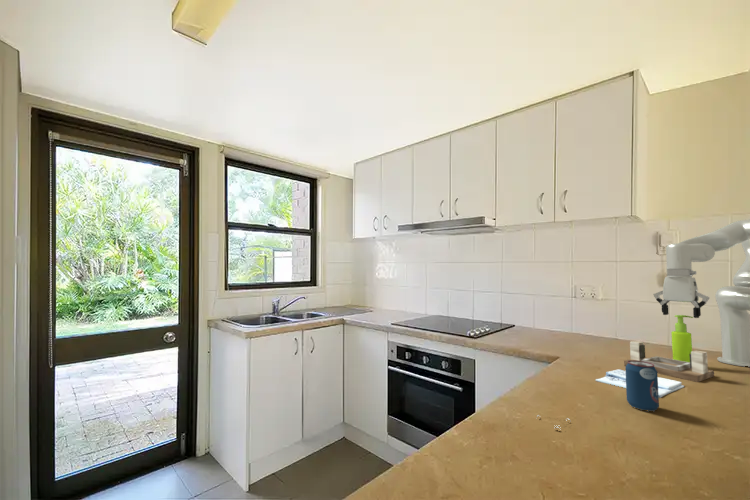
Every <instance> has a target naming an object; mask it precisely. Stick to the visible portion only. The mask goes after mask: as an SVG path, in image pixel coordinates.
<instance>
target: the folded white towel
mask: <svg viewBox="0 0 750 500" xmlns="http://www.w3.org/2000/svg"><path fill="white" fill-rule="evenodd" d="M595 382H598V383H602V384H606V385H610V384H611V385H610V386H614V385H615V387H618V386H619V388H621V387H623V388H622V389H625V388H626V370H622V369H619V368H618V369H614V370H610V371H606V372H605V375H604V376H603V377H600V378H595ZM683 388H685V385H683V383H682V381H679V380H678V381H677V380H675V379H674V380H673V379H669V378H664V377H661V376H660V377H658V395H659V399H660V398H662V397H664V396H666V395H668V394H670V393H673V392H676V391H678V390H680V389H683Z"/></svg>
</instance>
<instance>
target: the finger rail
mask: <svg viewBox="0 0 750 500" xmlns="http://www.w3.org/2000/svg"><path fill="white" fill-rule="evenodd" d="M629 350H630V351H629V353H630V354H629V355H630V359H626V360H623V361H624V362H623V365H624V367H626V365H627V364H628V361H629V360H637V361H644V362H649V363H652V364H654V367H655V369H656V370H657V374H660V375H664V376H668V377H674V378H678V379H681V380H687V381H692V382H696V383H698V382H702V381H705V380H707V379H710V378H713V377H715V371H714V370H713V369H709V364H708V352H707V351H700V350H692V352H691V354H690V362H685V361H679V360H674V359H673V358H668V357H663V356H652V357H646V345H645V344H644V341H638V340H632V341H629Z"/></svg>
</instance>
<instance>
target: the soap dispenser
mask: <svg viewBox="0 0 750 500" xmlns="http://www.w3.org/2000/svg"><path fill="white" fill-rule="evenodd" d="M674 317H675V318H677V322H675V323H674V327H675V330H672V331H671V349H672V359H674V360H679V361H685V362H690V354H691V352H692V351H693V344H692V343H693V342H692V341H693V340H692V333H690V332H687V331H688V329H687V324H686V323H685V322H684V318H690V319H693V318H694V316H690V315H684V314H678V315H676V314H674Z"/></svg>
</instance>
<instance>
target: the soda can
mask: <svg viewBox="0 0 750 500" xmlns="http://www.w3.org/2000/svg"><path fill="white" fill-rule="evenodd" d="M628 360H629V359H628ZM624 367H625V371H626V390H625V393H626V401H627V403H628V404H629V406H630V405H631V406H632V407H631V406H630V407H631V408H633V407H635V408H638V409H641V410H640V411H642V410H648V411H647V412H649V411H653V412H656V411H655V410H657V409H658V408H659V407H660V402H659V401H660V397H659V395H658V373H657V370H656V369H655V367H654V364H652V363H649V362H644V361H637V360H629V361H628V364H627V365H626V366H624ZM635 408H634V409H635ZM638 409H637V410H638Z"/></svg>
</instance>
